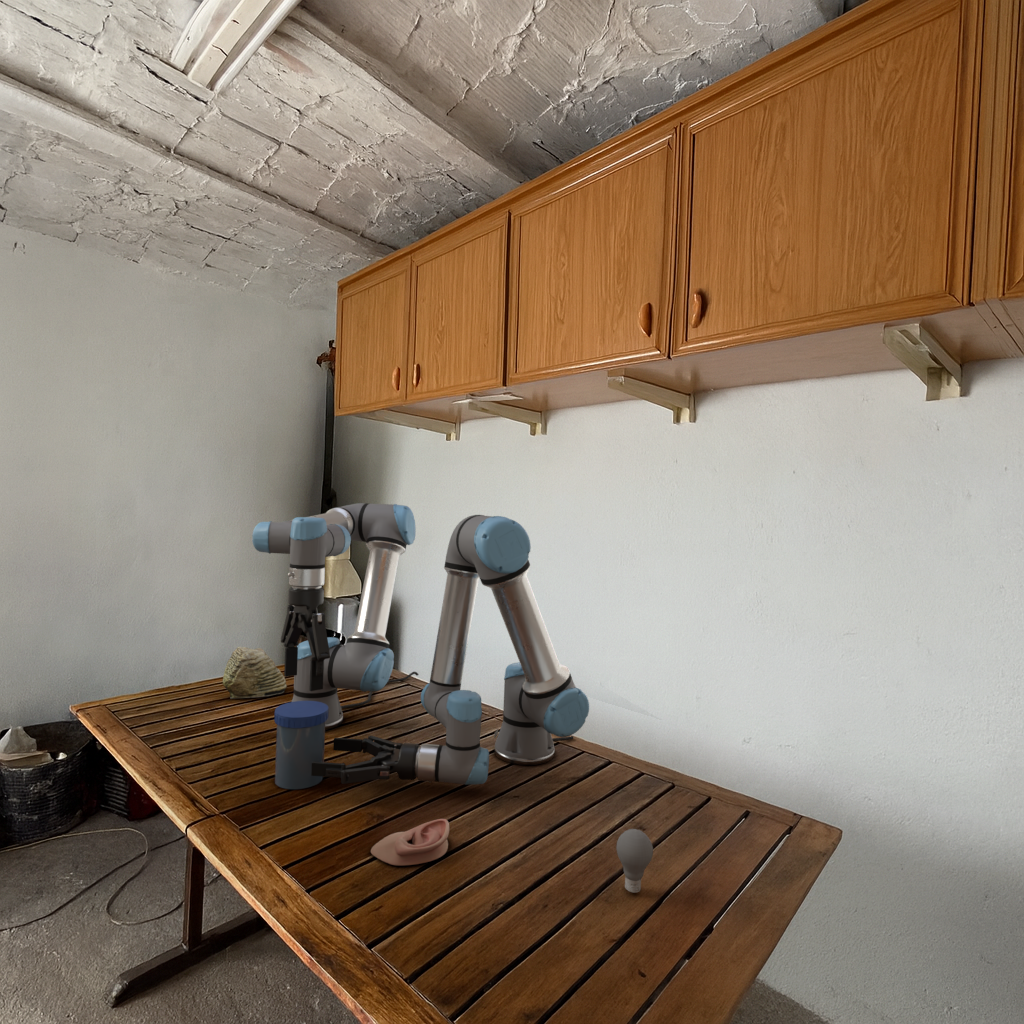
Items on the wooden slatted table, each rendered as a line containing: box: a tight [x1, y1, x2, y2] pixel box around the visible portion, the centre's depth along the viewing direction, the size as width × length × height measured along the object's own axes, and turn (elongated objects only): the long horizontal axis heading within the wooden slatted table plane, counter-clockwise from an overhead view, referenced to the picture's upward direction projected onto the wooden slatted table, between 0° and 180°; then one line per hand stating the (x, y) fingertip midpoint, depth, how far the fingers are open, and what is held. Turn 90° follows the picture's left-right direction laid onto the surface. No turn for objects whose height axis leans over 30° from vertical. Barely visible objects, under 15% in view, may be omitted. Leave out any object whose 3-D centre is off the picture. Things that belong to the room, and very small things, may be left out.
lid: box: [273, 701, 329, 728], centre depth 141 cm, size 11×12×2 cm
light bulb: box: [615, 828, 654, 894], centre depth 106 cm, size 6×6×10 cm
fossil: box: [222, 646, 288, 699], centre depth 198 cm, size 9×18×15 cm, turn 132°
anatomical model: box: [370, 818, 450, 867], centre depth 115 cm, size 13×4×12 cm
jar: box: [274, 722, 326, 790], centre depth 142 cm, size 10×10×15 cm
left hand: (302, 682), depth 141 cm, fingers open, 12 cm apart
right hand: (323, 755), depth 140 cm, fingers open, 13 cm apart
